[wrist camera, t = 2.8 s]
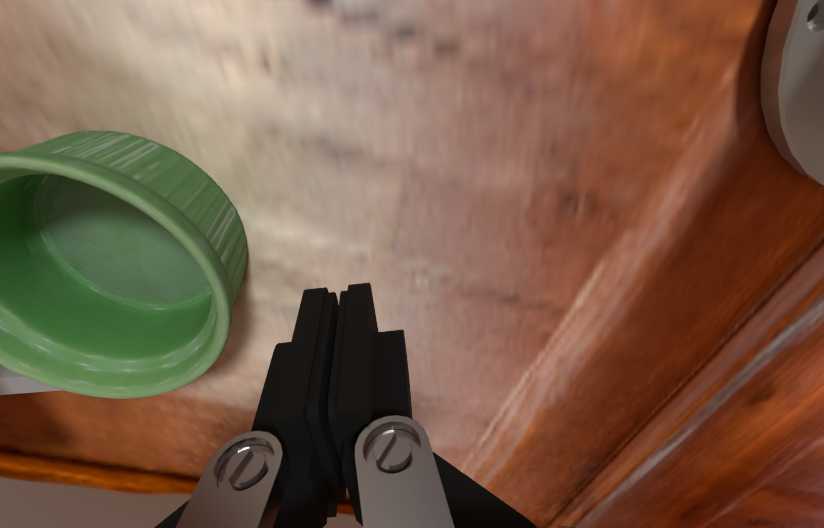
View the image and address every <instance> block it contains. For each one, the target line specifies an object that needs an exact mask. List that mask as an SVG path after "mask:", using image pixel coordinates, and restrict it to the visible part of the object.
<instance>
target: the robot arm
mask: <svg viewBox="0 0 824 528" xmlns="http://www.w3.org/2000/svg"><path fill="white" fill-rule="evenodd" d="M761 106H762V110H763V114H764V119H765V123H766V127H767V131H768V134H769V135H770V137H771V139H772V141H773V143H774V144H775V146H776V148H777V150H778V151H779V153H780V155H781V156H782V157H783V158H784V159H785V160H786V161H787V162H788V163H789V164H790V165H791V166H792V167H793V168H795V169H796V170H797V171H798V172H799V173H800V174H802V175H804V176H806V177H808V178H810V179H812V180H814V181H816V182H818V183H820V184H821V185H823V186H824V0H778V2H777V5H776V7H775V10H774V13H773V16H772V19H771V21H770V24H769V28H768V33H767V38H766V43H765V48H764V54H763V59H762V64H761ZM346 486H347V489H348V493H349V496H350V500H351V503H352V507H353V510H354V514H355V517H356V520H357V521H358V522H359V523H360V524H361V525H362V526H363V528H537V527H536V526H535V525H534V524H533V523H532V522H531V521H530V520H528V519H527V518H526V517H524V516H523V515H521V514H520V513H519V512H517V511H516V510H514V509H513V508H512V507H510V506H509V505H507V504H506V503H504V502H503V501H502V500H500V499H499V498H497V497H496V496H495V495H493V494H492V493H490V492H489V491H488V490H486V489H485V488H483V487H482V486H481V485H479V484H478V483H476V482H475V481H473V480H472V479H471V478H469V477H468V476H466V475H465V474H464V473H462V472H461V471H459V470H458V469H457V468H455V467H454V466H452V465H451V464H449V463H448V462H447V461H445V460H444V459H442V458H441V457H440V456H438V455H437V454H435V453H434V452H433V451H432V449H431V445H430V442H429V438H428V436H427V434H426V432H425V430H424V428H423V427H422V426H421V425H420V424H419V423H418V422H416V421H414V420H413V419H412V407H411V395H410V383H409V372H408V362H407V354H406V345H405V337H404V330H395V331H386V332H378V327H377V321H376V315H375V309H374V303H373V296H372V290H371V285H370V283H362V284H353V285H349V286H348V291H341V293H340V301H339V305H338V300H337V296H336V293H335V292H331V293H329V292H328V290H327V288H326V287H325V288H316V289H307V290H304V292H303V296H302V300H301V304H300V309H299V313H298V317H297V321H296V325H295V329H294V333H293V338H292V342H286V343H278V344H277V345H276V347H275V349H274V352H273V356H272V359H271V363H270V366H269V370H268V373H267V377H266V380H265V384H264V387H263V391H262V394H261V398H260V401H259V405H258V409H257V412H256V416H255V419H254V423H253V426H252V430H251V432H246V433H243V434H241V435H238V436H236V437H234V438H232V439H231V440H229V441H228V442H226V443H225V444H224V445H223V446H221V447H220V448H219V449H218V450H217V451H216V452H215V454H214V455H213V457H212V458H211V460H210V461H209V463H208V465H207V467H206V469H205V471H204V473H203V475H202V477H201V478H200V480H199V482H198V484H197V486H196V488H195V490H194V492H193V494H192V496H191V498H190V499H189V500H188V501H187V502H186V503H184V504H183V505H182V506H181V507H180V508H178V509H177V510H176V511H175V512H173V513H172V514H171V515H170V516H168V517H167V518H166V519H165V520H163V521H162V522H161V523H160V524H158V525H157V526H156V527H155V528H323V527H324V526H325V525H326V523H327V518H328V517H336V514H337V501H342V500H345V497H346ZM558 528H574V527H567V526H559V525H558Z"/></svg>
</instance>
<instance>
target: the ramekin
mask: <svg viewBox="0 0 824 528" xmlns="http://www.w3.org/2000/svg"><path fill="white" fill-rule="evenodd" d="M246 262H247V245H246V237H245V233H244V230H243V226H242V222H241V220H240V217H239V215H238V213H237V211H236V209H235V207H234V206H233V204H232V203H231V201H230V200H229V198H228V197H227V195H226V194H225V193H224V192H223V190H222V189H221V188H220V186H219V185H218V184H217V183H215V181H214V180H213V179H212V178H211V177H210V176H209V175H208V174H207V173H205V172H204V171H203V170H202V169H201V168H199V167H198V166H197V165H196V164H194V163H193V162H191V161H190V160H189V159H187V158H186V157H184V156H183V155H181V154H179V153H178V152H176V151H174V150H172V149H170V148H168V147H166V146H164V145H161V144H159V143H156V142H154V141H151V140H148V139H146V138H143V137H139V136H135V135H131V134H127V133H119V132H112V131H83V132H76V133H71V134H67V135H63V136H60V137H57V138H54V139H51V140H48V141H45V142H42V143H39V144H36V145H33V146H30V147H27V148H24V149H21V150H18V151H15V152H0V365H2V366H4V367H5V368H7V369H9V370H11V371H13V372H15V373H17V374H20V375H22V376H24V377H26V378H29V379H31V380H34V381H36V382H39V383H42V384H45V385H48V386H51V387H54V388H58V389H61V390H65V391H68V392H72V393H77V394H83V395H88V396H94V397H102V398H117V399H122V398H141V397H148V396H154V395H159V394H163V393H166V392H170V391H173V390H176V389H178V388H180V387H183V386H185V385H187V384H189V383H191V382H193V381H194V380H196V379H197V378H198V377H200V376H201V375H203V374H204V373H205V372H206V371H207V370H208V369H209V368H210V367H211V366H212V365H213V364H214V363H215V362H216V360H217V359H218V357H219V356H220V354H221V353H222V351H223V349H224V347H225V344H226V342H227V339H228V336H229V331H230V326H231V321H232V309H233V306H234V303H235V300H236V297H237V295H238V292H239V289H240V286H241V283H242V279H243V276H244V271H245V267H246Z"/></svg>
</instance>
